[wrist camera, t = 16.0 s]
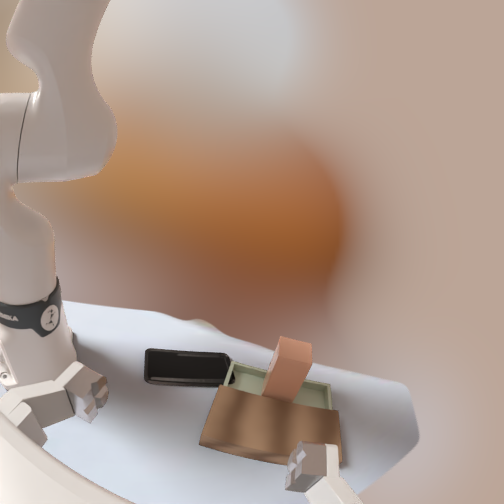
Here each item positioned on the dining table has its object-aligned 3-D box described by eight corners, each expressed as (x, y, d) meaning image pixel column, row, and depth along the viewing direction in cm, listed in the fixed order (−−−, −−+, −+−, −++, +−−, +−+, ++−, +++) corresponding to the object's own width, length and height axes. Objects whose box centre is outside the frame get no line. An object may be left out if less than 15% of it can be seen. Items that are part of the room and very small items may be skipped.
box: (220, 395, 39) (222, 388, 39) (229, 368, 46) (231, 360, 45) (327, 419, 38) (332, 412, 37) (325, 391, 45) (330, 384, 44)
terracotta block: (259, 400, 40) (278, 355, 36) (263, 380, 44) (280, 336, 41) (289, 407, 39) (312, 364, 36) (291, 386, 44) (311, 343, 41)
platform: (198, 444, 30) (201, 434, 29) (216, 396, 39) (219, 384, 38) (332, 470, 28) (342, 461, 27) (330, 421, 38) (338, 410, 37)
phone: (236, 383, 42) (144, 379, 37) (235, 387, 42) (144, 384, 37) (227, 352, 49) (145, 347, 44) (226, 356, 49) (145, 351, 45)
